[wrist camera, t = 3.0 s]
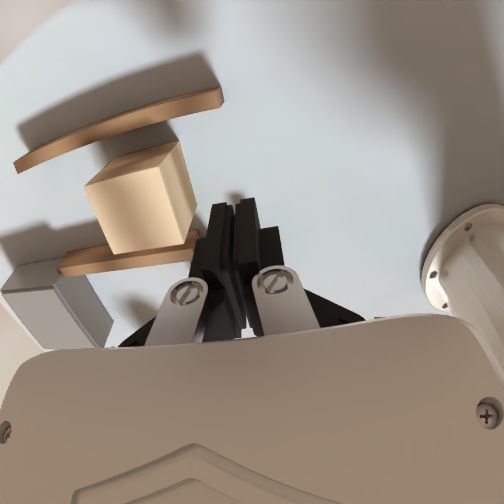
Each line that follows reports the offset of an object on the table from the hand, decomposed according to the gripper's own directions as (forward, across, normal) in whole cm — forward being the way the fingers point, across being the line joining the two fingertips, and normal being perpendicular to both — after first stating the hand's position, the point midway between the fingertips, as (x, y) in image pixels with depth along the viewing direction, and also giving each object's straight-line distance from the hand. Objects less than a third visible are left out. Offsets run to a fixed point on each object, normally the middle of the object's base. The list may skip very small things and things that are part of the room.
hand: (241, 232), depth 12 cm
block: (+10, +6, +1) cm, 12 cm away
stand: (+10, +22, +10) cm, 26 cm away
